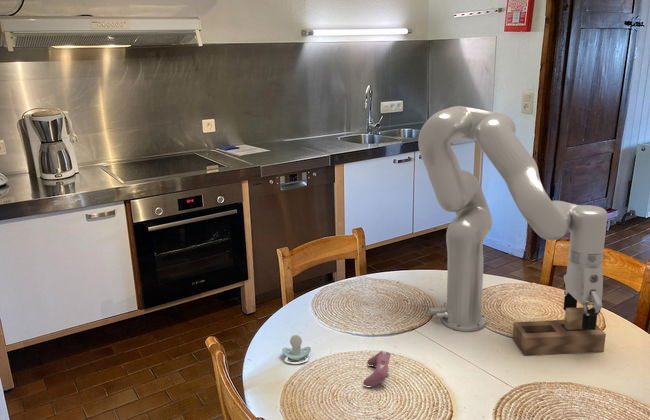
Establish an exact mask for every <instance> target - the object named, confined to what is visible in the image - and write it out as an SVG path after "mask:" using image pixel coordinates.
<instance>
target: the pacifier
mask: <svg viewBox="0 0 650 420" xmlns="http://www.w3.org/2000/svg"><path fill="white" fill-rule="evenodd" d="M289 344H290V345H291V347H283V348H282V349H281V351H282V352H281V353H282V354H283V355H284V356H285V357H288V358H289V360H292V359H301V358H303V357H306V358H308V357H309V356H308V355H309V354H310V352H311V351H312V350H311V348H312V347H310V346H305V347H302V348H301V346H302V344H303V340H302V337H301V336H300V335H298V334H293V335H292V336H290V340H289ZM307 356H308V357H307ZM306 358H303V359H301V360H298V361H299V362H303V361H305V360H306ZM304 359H305V360H304Z"/></svg>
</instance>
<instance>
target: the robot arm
mask: <svg viewBox="0 0 650 420" xmlns="http://www.w3.org/2000/svg"><path fill="white" fill-rule="evenodd" d="M460 138H463V139H466V140H467V139H468V140H471V141H476V143H477V145H478V146H479V148H480V149H481V150H482V152H483V153H484V155H485V156H486V157H487V159H488V160H489V161H490V162H491V164H492V166H494V168H495V169H496V171H497V172H498V173H499V175H500V176H501V177H502V179H503V180H504V182H505V184H506V186H507V187H506V188H507V189H508V191H509V192H510V195H511V196H512V199H513V201H514V203H515V205H516V207H517V209H518V210H519V212H520V213H521V215H522V217H523V218H524V219H525V221H526V222H527V224H528V225H529V226H530V227H531V229H532V230H533V231H534V233H536V234H537V236H538V237H540V238H542V239H543V240H547V241H558V240H560V239H562V238H563V237H565V235H566V234H567V233H568V231H569V232H570V237H569V245H568V246H569V248H568V255H567V256H568V258H567V260H568V262H567V267H566V273H565V274H564V275H563V281H564V283H563V287H564V291H563V295H564V297H563V298H564V299H563V311H565V312H566V308H578V307H577V306H578V303H579V304H581V305H582V307H584V311H585V314H583V320H582V328H583V329H595V328H596V325H597V321H598V316H599V315H600V313H601V311H602V309H603V303H602V301H603V292H604V290H603V289H604V271H603V266H602V265H603V259H604V250H605V242H606V234H607V224H608V223H607V222H608V212H607V210H606V209H605V208H603V207H600V206H596V205H588V204H585V205H580V204H575V203H570V202H568V201H567V202H566V201H564V200H551V198H550V197H549V195H548V194H547V192H546V190H545V188H544V187H543V184H542V181H541V178H540V173H539V167H538V164H537V162H536V160H535V159H534V157H533V156H532V154H530V153H529V151H528V150H527V148H526V147H525V145H524V144H523V143H522V142H521V140H520V139H519V138H518V136H517V135H516V124H515V121H514V120H513V119H512V118H511V117H510V116H509V115H508V114H506V113H502V112H499V111H498V112H496V111H493V110H492V111H491V110H484V109H480V108H474V107H468V106H463V105H454V106H451V107H447V108H444V109H441V110H440V111H437V112H436V113H434V114H433V115H432V116H430V117H429V118H428V119H427V120H426V121H425V122H424V124H423V125H422V127H421V129H420V131H419V134H418V139H417V140H418V142H417V143H418V150H419V153H420V156H421V160H422V161H423V163H424V166H425V169H426V172H427V175H428V178H429V181H430V184H431V187H432V189H433V192H434V195H435V197H436V200H437V203H438V205H439V206H440V207H441V208H442V209H443V210H444V211H446V212H449V213H455V215H456V216H455V217H454V218H453V219H452V221H450V222H449V224H448V227H447V229H446V234H445V237H446V238H445V242H446V250H447V251H446V252H447V277H446V278H447V279H446V280H447V283H446V284H447V286H446V289H447V290H446V302H444V303H443V306H442V305H441V306H440V307H429V314H430V315H435V317H436V318H440V319H441V320H440V321H441V323H442V324H443V325H444V326H446V327H448V328H449V329H452V330H455V331H460V332H474V331H479V330H481V329H483V328H484V327H486V326H487V322H488V320H487V316H486V315H485V314H484V313H483V312H482V305H483V302H482V301H483V281H484V279H483V278H484V251H483V250H484V248H483V245H484V240H485V239H486V237H487V235H488V234H489V233H490V231H491V230H492V227H493V217H492V214H491V211H490V208H489V205H488V203H487V200H486V197H485V193H484V191H483V189H482V187H481V184H480V182H479V180H478V179H477V177H476V176H475V175H474V174H473V173H471V172H470V171H467V170H462V169H461V167H460V163H459V161H458V157H457V155H456V154H455V152H454V150H453V148H452V143H453V142H454V141H455V140H458V139H460ZM589 306H591V307H590V308H591V309H590V310H589V309H588V307H589Z"/></svg>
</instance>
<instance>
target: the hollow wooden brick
mask: <svg viewBox="0 0 650 420" xmlns="http://www.w3.org/2000/svg"><path fill="white" fill-rule="evenodd" d="M564 322H565V319H556V320H555V319H553V320H536V321H535V320H534V321H533V320H532V321H531V320H530V321H513V328H512V341H513V342H514V343H515V345H516V346H517V348H518V349H519V351H520V352H521V353H522V355H523V356H524V357H529V356H546V355H548V356H549V355H569V354H585V353H586V354H588V353H589V354H590V353H604V352H605V344H606V335H607V333H605V331H603V330H602V329H601V328H600V327H599V326H598V325H597V324H596V328H595V329H591V330H584V331H566V330H565V329H564Z"/></svg>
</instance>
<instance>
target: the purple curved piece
mask: <svg viewBox="0 0 650 420" xmlns="http://www.w3.org/2000/svg"><path fill="white" fill-rule="evenodd" d="M391 356H392V355H391V353H390V352H388V351H386V350H385V351H383V350H380V351H379V352H378V353H376V354H375V355H373V356H372V357H370V358H369V359H368V360H367V365H368V364H369V365H373V366H376V367H375V371H374V372H372V374H370V375H368V377H366V378H365V379H364V380H363V383H362V384H363V386H364V385H366V386H374V387H376V386H377V385H379V384H381V383H382V382H384V380H385V379H388V378H389V376H390V373H389V367H388V366H389V363H390V362H389V361H390V358H391Z"/></svg>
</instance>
